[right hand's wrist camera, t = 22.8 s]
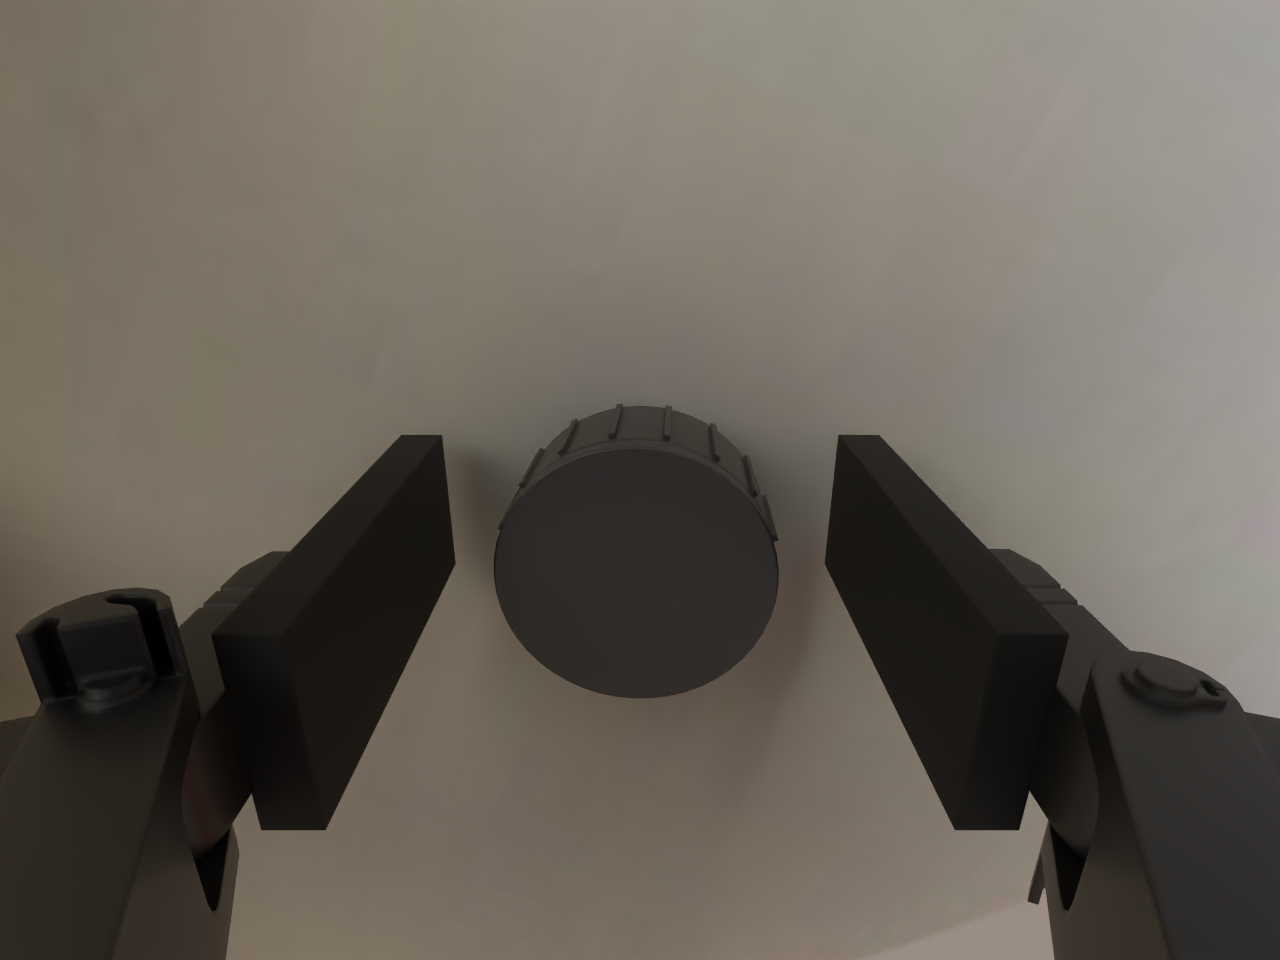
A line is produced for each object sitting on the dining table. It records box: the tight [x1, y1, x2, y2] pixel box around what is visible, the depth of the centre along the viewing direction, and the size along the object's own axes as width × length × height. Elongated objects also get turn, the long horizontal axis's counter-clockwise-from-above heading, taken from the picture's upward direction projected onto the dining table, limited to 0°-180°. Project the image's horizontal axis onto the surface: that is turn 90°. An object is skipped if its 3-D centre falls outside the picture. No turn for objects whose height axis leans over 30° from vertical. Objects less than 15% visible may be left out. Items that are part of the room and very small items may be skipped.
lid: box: [494, 404, 779, 698], centre depth 13 cm, size 5×5×2 cm
